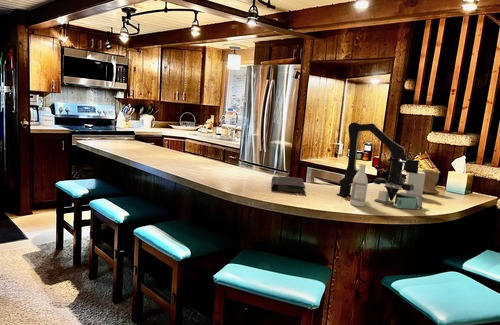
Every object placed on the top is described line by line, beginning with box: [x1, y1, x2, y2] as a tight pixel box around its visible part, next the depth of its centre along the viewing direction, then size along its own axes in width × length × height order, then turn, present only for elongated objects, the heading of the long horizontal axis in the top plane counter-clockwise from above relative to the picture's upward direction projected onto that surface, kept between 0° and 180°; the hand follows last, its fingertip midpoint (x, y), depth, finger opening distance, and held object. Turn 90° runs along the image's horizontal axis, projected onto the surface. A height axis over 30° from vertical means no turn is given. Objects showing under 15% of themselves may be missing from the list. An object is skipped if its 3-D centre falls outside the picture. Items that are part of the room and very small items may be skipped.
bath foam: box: [349, 163, 369, 208], centre depth 184 cm, size 7×7×20 cm
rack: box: [394, 192, 424, 210], centre depth 195 cm, size 9×12×6 cm
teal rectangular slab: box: [395, 197, 417, 210], centre depth 187 cm, size 10×2×5 cm, turn 101°
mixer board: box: [373, 198, 395, 206], centre depth 198 cm, size 6×8×1 cm
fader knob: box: [377, 190, 390, 201], centre depth 198 cm, size 4×4×5 cm
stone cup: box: [421, 168, 440, 194], centre depth 242 cm, size 15×12×15 cm
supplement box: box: [404, 170, 425, 197], centre depth 224 cm, size 9×9×15 cm
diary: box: [270, 175, 306, 195], centre depth 211 cm, size 19×25×5 cm
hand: (391, 200), depth 196 cm, fingers closed
